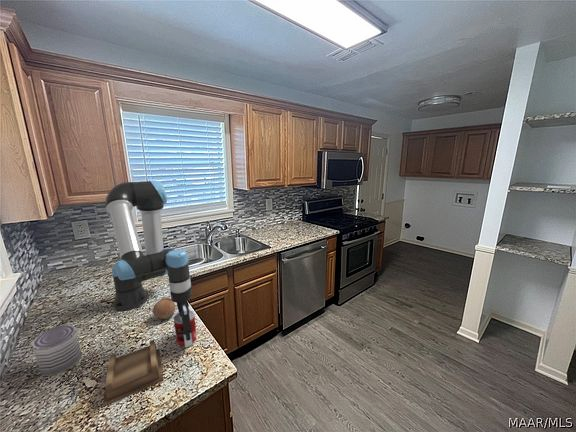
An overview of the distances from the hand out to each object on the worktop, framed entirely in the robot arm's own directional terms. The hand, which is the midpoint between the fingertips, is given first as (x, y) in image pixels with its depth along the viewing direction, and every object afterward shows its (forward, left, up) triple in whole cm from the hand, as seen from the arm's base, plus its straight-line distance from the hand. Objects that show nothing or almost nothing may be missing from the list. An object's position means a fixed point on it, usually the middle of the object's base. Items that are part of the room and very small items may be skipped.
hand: (186, 338), depth 96 cm
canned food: (0, 0, -1) cm, 1 cm away
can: (-13, -41, -1) cm, 43 cm away
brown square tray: (+8, -18, 0) cm, 20 cm away
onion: (-22, -6, -1) cm, 23 cm away
